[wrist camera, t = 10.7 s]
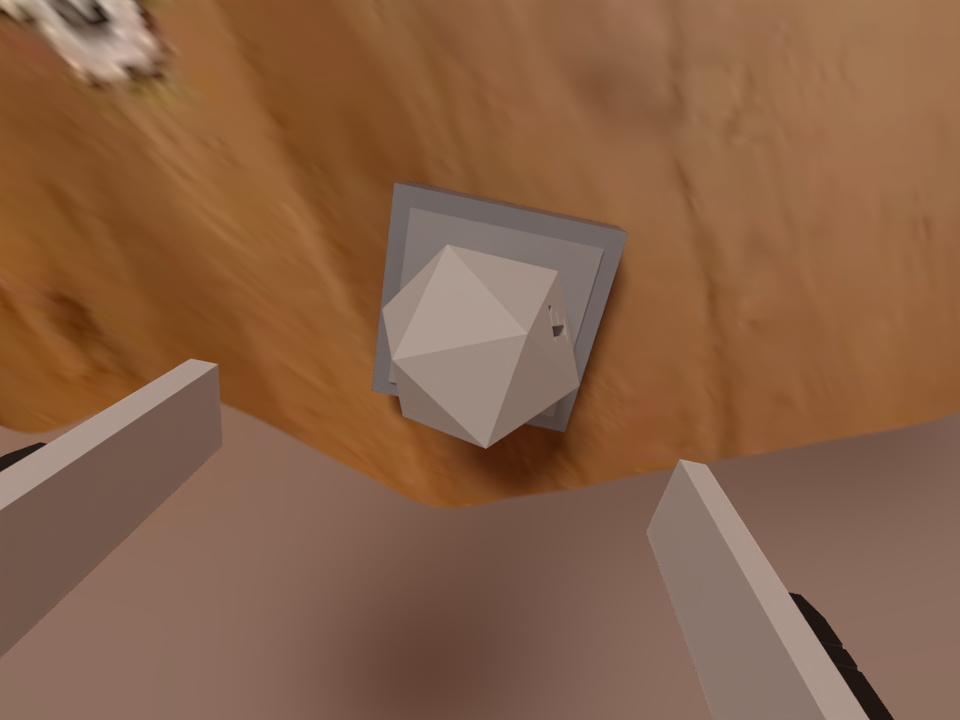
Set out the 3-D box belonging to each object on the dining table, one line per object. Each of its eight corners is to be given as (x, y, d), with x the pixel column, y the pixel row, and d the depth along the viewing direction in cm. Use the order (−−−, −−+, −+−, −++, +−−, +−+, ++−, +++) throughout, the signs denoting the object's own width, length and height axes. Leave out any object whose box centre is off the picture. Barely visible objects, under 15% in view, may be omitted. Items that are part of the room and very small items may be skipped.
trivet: (385, 370, 30) (370, 392, 27) (408, 181, 25) (392, 182, 22) (560, 408, 30) (565, 434, 27) (616, 226, 25) (629, 233, 22)
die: (527, 410, 27) (644, 420, 18) (382, 446, 24) (432, 482, 15) (501, 272, 27) (605, 211, 18) (351, 289, 24) (383, 226, 15)
